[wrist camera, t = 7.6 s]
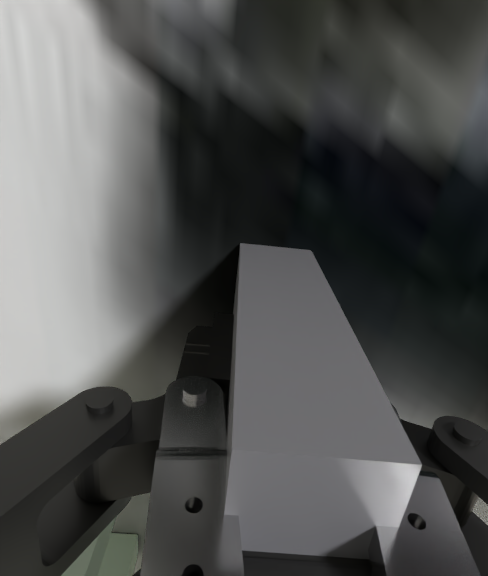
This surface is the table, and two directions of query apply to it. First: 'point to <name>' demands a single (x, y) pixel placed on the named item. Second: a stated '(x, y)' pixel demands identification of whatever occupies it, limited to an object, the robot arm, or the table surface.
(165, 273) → the table surface
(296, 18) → the table surface
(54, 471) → the robot arm
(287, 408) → the block
